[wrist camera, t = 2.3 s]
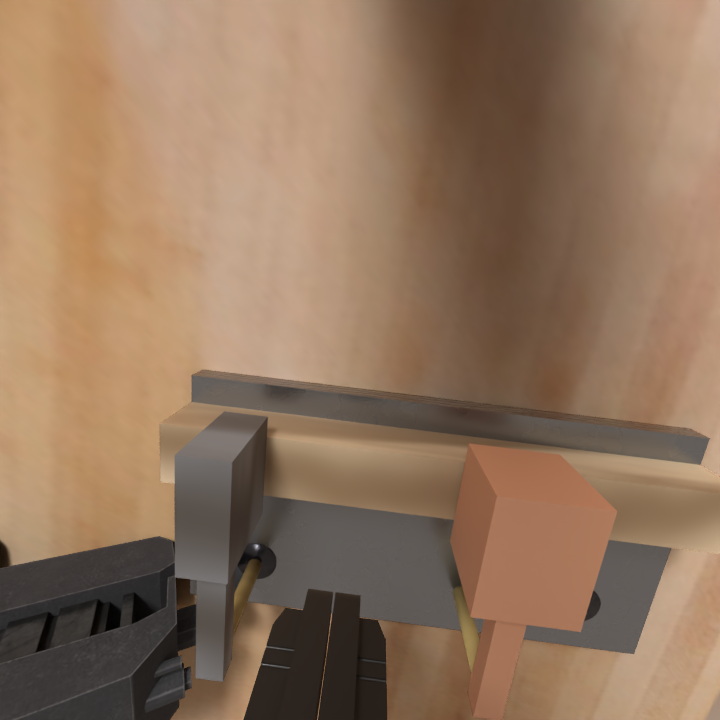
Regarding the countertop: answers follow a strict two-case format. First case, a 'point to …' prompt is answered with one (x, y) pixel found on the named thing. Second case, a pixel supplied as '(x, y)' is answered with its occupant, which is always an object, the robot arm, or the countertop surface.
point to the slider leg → (521, 558)
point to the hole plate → (430, 534)
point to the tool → (94, 635)
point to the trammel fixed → (370, 493)
